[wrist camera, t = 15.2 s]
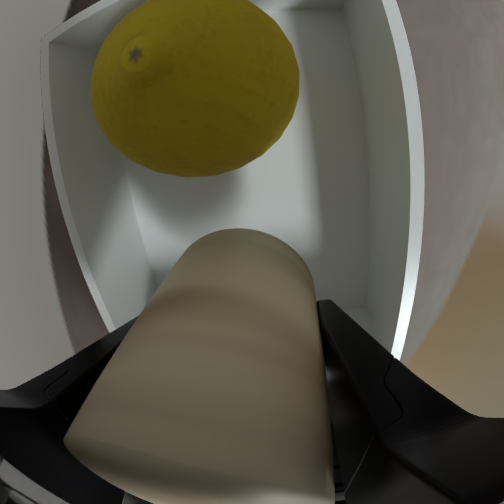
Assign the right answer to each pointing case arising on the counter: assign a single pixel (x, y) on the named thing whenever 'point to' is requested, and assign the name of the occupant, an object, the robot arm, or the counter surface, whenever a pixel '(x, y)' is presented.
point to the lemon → (195, 85)
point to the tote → (258, 169)
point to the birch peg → (217, 384)
